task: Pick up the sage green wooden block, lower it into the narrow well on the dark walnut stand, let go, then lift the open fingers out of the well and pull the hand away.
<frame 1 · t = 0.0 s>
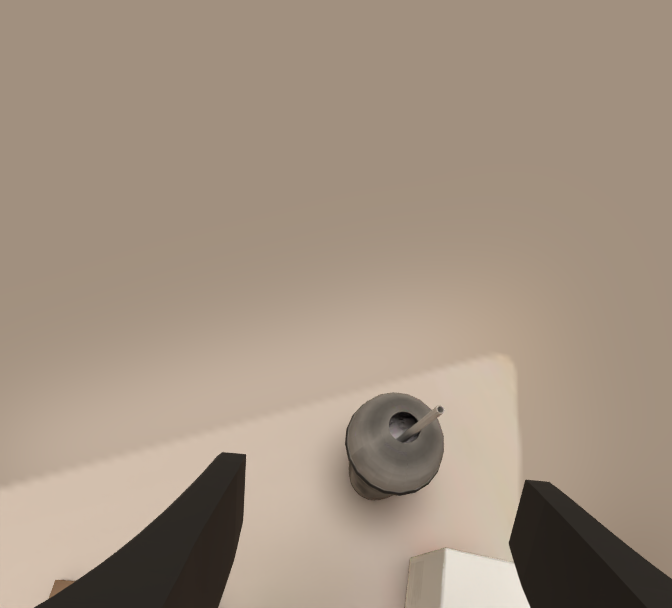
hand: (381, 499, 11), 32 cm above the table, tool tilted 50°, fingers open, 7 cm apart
beverage cup: (372, 475, 43), on the table
skincare box: (439, 591, 38), on the table
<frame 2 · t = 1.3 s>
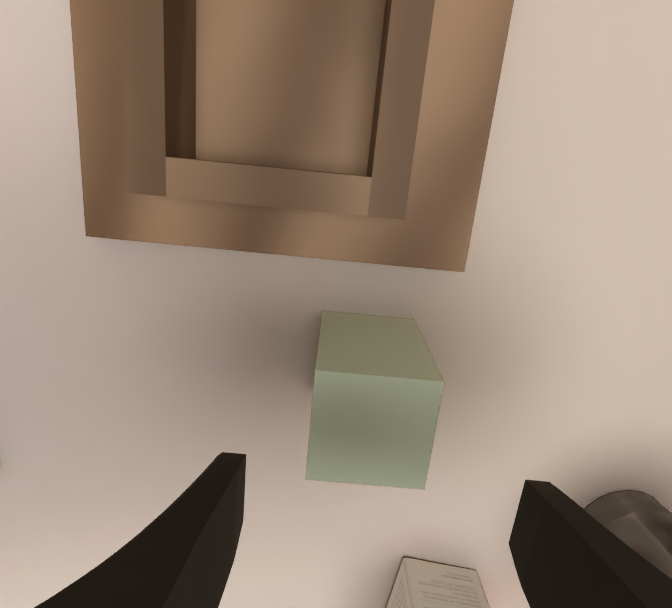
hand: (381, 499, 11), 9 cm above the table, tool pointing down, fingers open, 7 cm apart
beverage cup: (617, 524, 23), on the table
block: (362, 356, 20), on the table
well stand: (289, 78, 17), on the table
skincare box: (425, 599, 24), on the table
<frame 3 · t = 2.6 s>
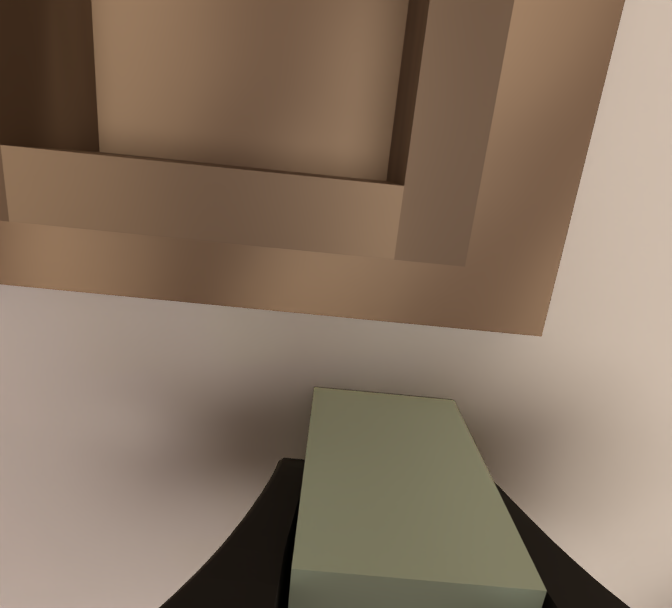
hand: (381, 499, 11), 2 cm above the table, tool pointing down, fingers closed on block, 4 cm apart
block: (375, 453, 13), on the table, touching gripper
well stand: (258, 17, 10), on the table
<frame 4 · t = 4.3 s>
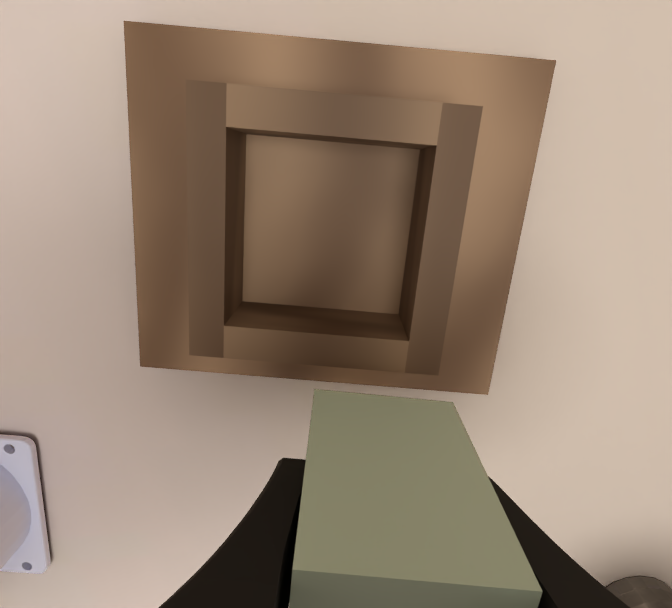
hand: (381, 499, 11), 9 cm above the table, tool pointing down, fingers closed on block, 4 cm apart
beverage cup: (630, 605, 24), on the table
block: (375, 455, 13), point 7 cm above the table, touching gripper
well stand: (327, 226, 18), on the table
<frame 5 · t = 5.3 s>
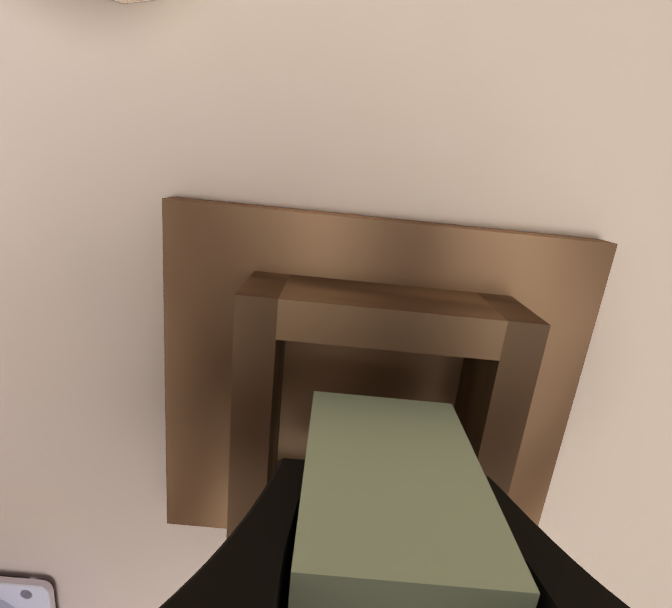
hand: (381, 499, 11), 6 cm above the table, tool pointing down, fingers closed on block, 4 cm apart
block: (374, 456, 13), point 4 cm above the table, touching gripper
well stand: (366, 385, 17), on the table
when the fingers open (5 cm above the table, at t = 6.0 s): block drops 2 cm, resting on well stand.
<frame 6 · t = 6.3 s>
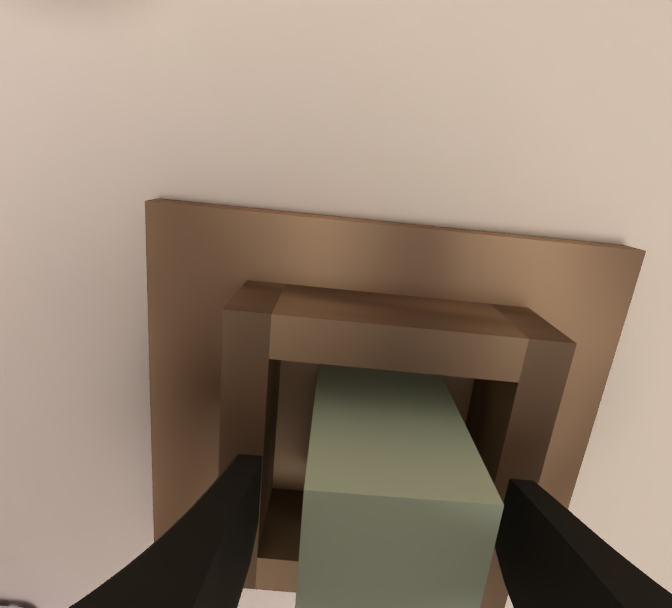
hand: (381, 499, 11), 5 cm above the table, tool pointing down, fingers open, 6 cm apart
block: (373, 421, 15), point 1 cm above the table, touching well stand
well stand: (369, 403, 16), on the table
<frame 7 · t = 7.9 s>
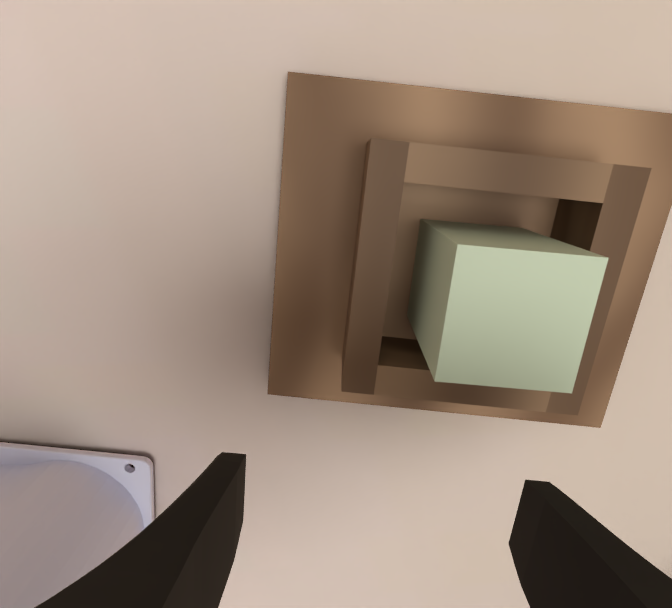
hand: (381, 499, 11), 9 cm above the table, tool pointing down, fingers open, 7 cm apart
block: (462, 272, 18), point 1 cm above the table, touching well stand
well stand: (455, 264, 19), on the table
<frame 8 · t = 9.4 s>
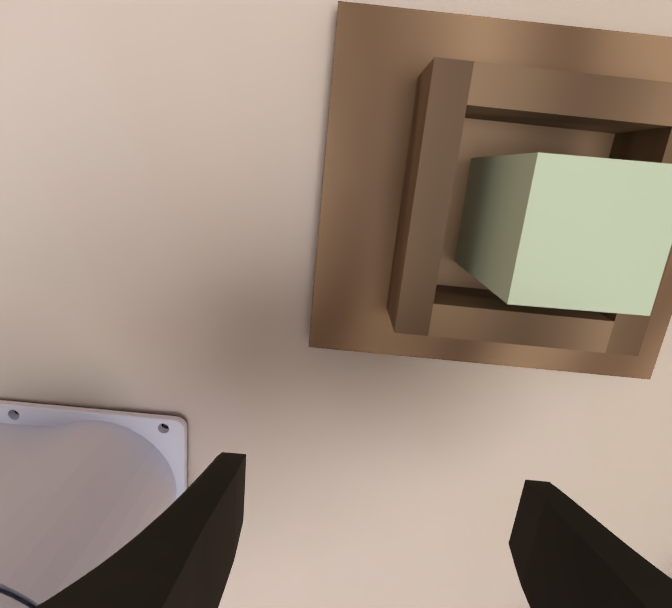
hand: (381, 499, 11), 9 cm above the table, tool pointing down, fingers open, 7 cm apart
block: (513, 215, 18), point 1 cm above the table, touching well stand
well stand: (503, 209, 18), on the table
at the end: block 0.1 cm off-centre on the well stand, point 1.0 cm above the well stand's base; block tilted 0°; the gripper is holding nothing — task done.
